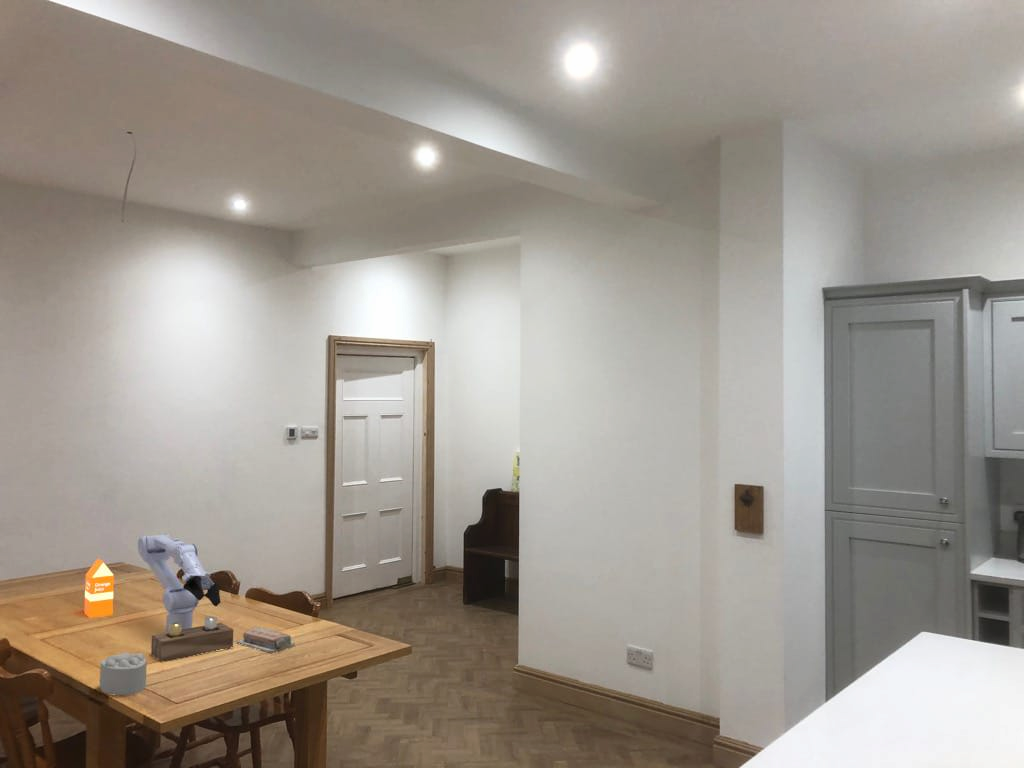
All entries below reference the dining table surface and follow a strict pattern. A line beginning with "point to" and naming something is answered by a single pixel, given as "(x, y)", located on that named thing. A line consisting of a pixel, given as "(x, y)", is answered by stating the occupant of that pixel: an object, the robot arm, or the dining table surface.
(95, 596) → the orange juice
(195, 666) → the dining table surface
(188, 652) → the walnut block
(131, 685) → the lumpy-topped squat cylinder
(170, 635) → the brass peg
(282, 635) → the packaged product
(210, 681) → the dining table surface
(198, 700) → the dining table surface
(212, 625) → the grey metal peg
